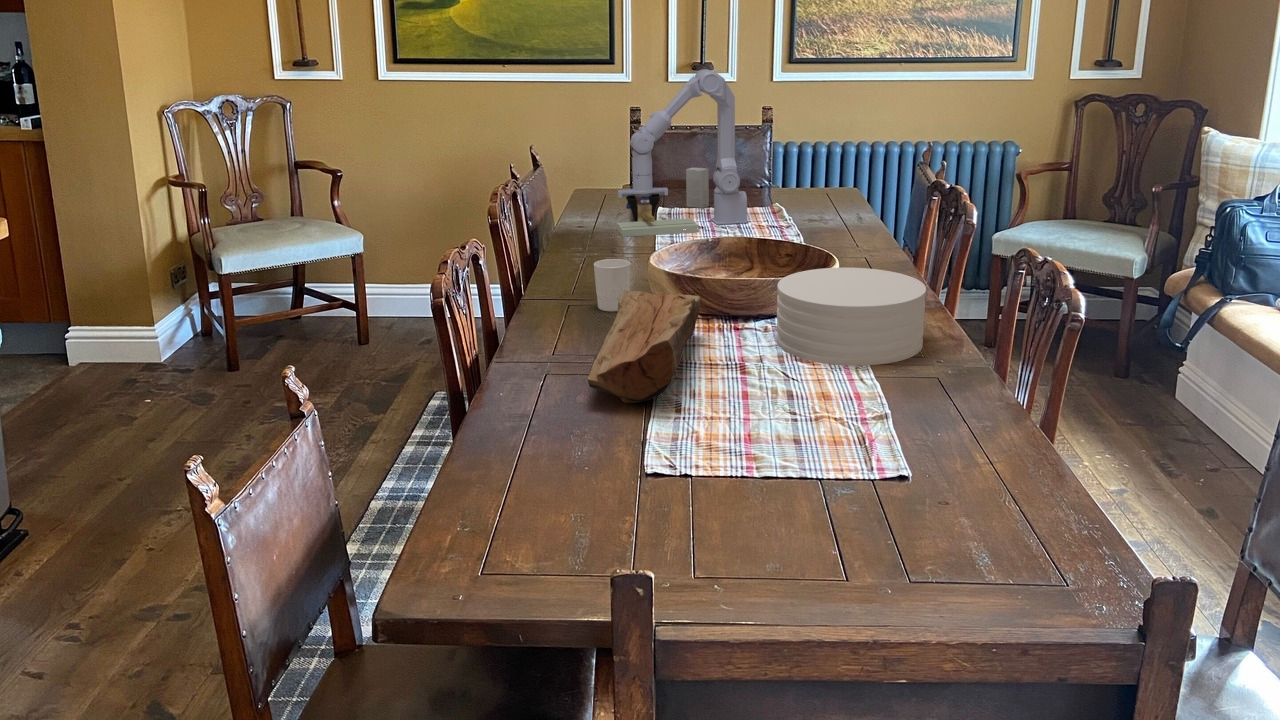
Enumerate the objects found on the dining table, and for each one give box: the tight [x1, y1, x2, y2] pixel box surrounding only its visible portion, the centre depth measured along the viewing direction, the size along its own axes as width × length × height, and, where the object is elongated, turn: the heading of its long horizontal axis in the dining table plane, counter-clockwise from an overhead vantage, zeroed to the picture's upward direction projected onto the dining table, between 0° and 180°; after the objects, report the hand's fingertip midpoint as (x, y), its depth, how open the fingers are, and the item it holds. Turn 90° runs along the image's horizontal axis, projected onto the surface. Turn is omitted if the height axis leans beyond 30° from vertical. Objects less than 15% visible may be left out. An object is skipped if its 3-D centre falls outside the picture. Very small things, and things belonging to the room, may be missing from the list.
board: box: [616, 218, 700, 238], centre depth 308 cm, size 22×10×2 cm, turn 100°
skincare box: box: [685, 167, 710, 209], centre depth 339 cm, size 6×4×12 cm
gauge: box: [637, 202, 655, 222], centre depth 310 cm, size 4×12×6 cm, turn 13°
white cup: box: [593, 258, 631, 313], centre depth 235 cm, size 8×8×10 cm
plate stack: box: [776, 267, 927, 366], centre depth 208 cm, size 28×28×12 cm
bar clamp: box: [625, 196, 649, 210], centre depth 334 cm, size 32×2×10 cm
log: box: [587, 290, 701, 404], centre depth 196 cm, size 42×18×15 cm, turn 170°
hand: (643, 220), depth 315 cm, fingers closed on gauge, 4 cm apart
